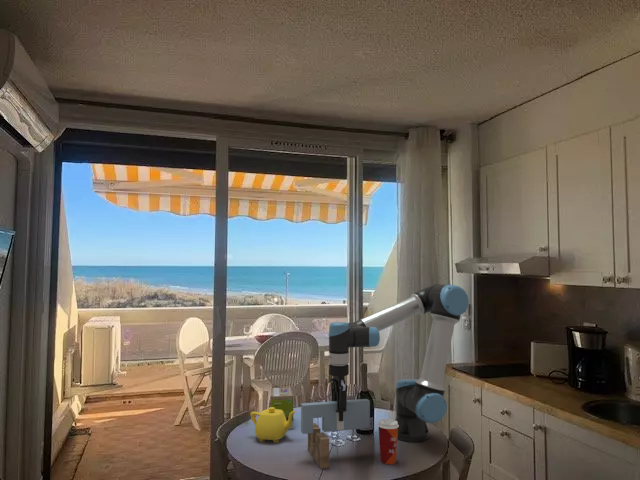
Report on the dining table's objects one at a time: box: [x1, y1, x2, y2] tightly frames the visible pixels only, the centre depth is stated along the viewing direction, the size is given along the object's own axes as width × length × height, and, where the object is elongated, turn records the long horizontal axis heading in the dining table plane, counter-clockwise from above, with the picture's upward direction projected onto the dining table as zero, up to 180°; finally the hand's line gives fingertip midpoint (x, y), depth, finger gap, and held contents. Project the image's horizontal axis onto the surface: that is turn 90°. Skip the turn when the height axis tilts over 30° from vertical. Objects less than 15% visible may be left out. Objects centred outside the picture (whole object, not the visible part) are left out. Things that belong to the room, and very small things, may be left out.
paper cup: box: [377, 418, 399, 465], centre depth 171 cm, size 8×8×14 cm
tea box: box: [270, 386, 294, 430], centre depth 212 cm, size 15×10×15 cm, turn 6°
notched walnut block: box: [307, 422, 330, 470], centre depth 173 cm, size 18×3×10 cm, turn 16°
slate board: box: [300, 398, 371, 435], centre depth 175 cm, size 26×3×10 cm, turn 106°
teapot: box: [249, 406, 297, 444], centre depth 194 cm, size 13×20×12 cm
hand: (338, 427), depth 175 cm, fingers closed on slate board, 3 cm apart
